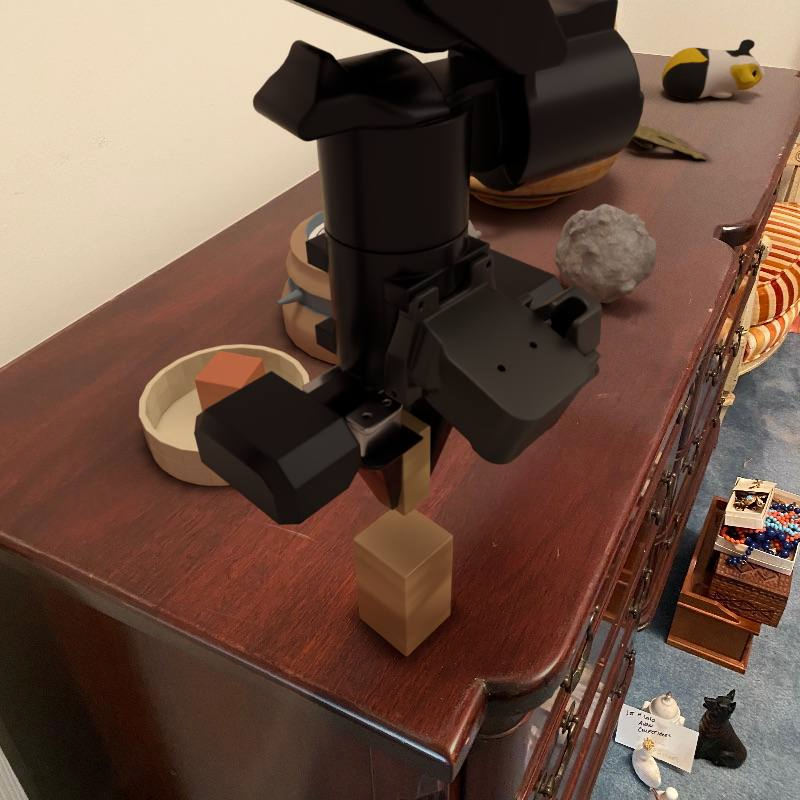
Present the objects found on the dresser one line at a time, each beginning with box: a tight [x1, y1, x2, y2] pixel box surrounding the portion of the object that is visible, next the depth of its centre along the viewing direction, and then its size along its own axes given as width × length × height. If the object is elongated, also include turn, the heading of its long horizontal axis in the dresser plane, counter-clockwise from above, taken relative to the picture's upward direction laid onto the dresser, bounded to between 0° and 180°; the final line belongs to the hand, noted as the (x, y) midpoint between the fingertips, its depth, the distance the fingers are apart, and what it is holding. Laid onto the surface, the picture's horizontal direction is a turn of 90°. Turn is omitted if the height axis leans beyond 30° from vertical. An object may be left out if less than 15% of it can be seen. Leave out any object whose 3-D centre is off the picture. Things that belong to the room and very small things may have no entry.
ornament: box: [632, 124, 708, 161], centre depth 103 cm, size 10×2×15 cm
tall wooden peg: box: [395, 410, 431, 516], centre depth 39 cm, size 2×2×5 cm
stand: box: [352, 508, 454, 657], centre depth 44 cm, size 4×4×8 cm
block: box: [195, 351, 265, 411], centre depth 61 cm, size 4×4×4 cm
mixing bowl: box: [138, 343, 311, 487], centre depth 60 cm, size 13×13×4 cm
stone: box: [554, 203, 657, 304], centre depth 71 cm, size 9×7×10 cm
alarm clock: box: [276, 209, 482, 365], centre depth 72 cm, size 17×9×23 cm
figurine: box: [661, 38, 766, 100], centre depth 116 cm, size 8×15×8 cm, turn 83°
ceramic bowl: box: [469, 152, 620, 210], centre depth 91 cm, size 30×24×8 cm
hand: (403, 492), depth 40 cm, fingers closed on tall wooden peg, 2 cm apart
